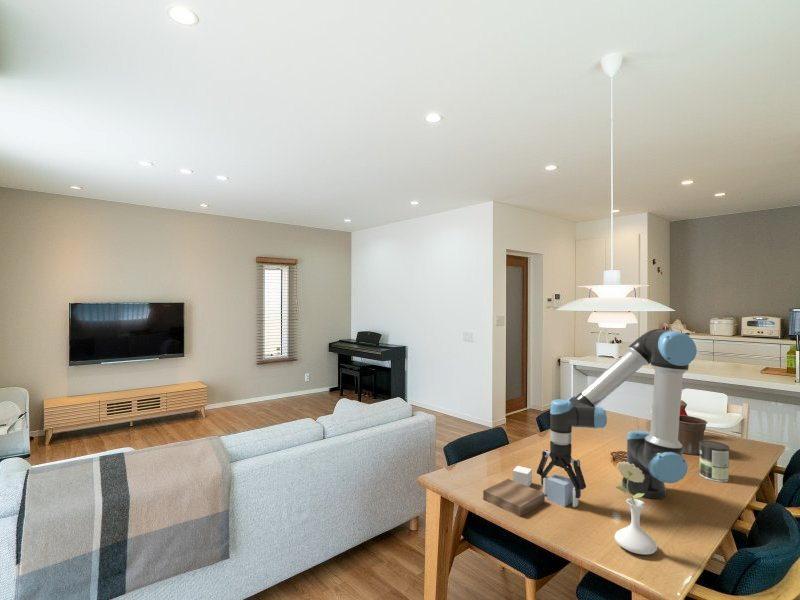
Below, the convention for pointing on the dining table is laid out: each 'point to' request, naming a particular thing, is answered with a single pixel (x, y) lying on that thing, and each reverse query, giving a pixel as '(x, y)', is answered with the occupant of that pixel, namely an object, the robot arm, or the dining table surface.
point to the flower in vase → (634, 516)
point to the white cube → (522, 475)
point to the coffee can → (714, 461)
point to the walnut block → (514, 497)
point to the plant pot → (691, 433)
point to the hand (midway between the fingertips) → (560, 499)
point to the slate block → (560, 490)
